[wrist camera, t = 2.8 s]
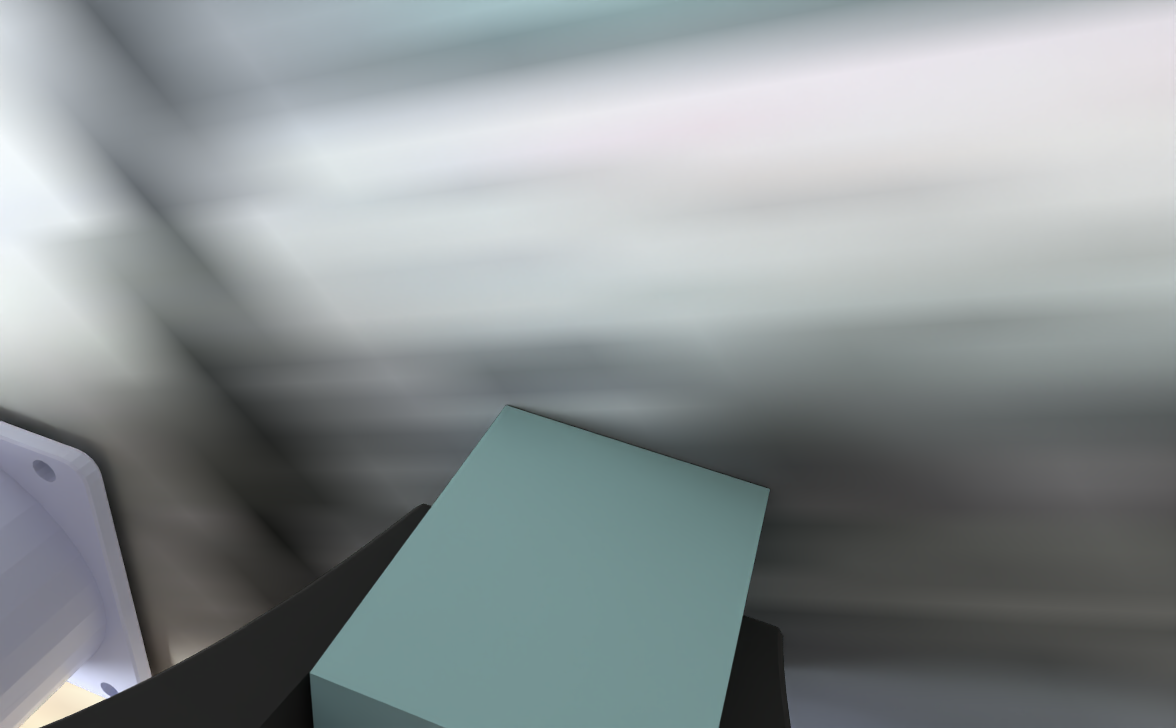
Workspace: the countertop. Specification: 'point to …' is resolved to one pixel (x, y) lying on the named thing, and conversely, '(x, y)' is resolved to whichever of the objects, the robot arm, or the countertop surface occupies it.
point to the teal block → (553, 593)
